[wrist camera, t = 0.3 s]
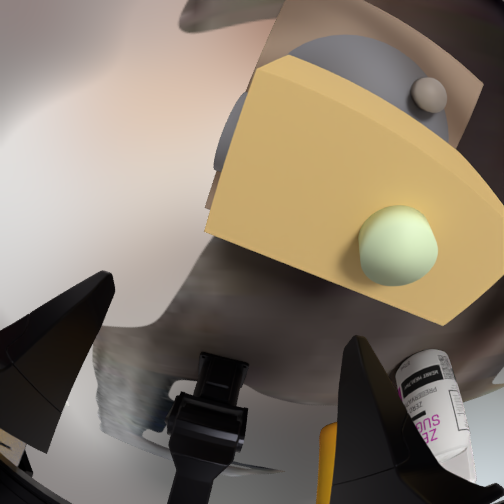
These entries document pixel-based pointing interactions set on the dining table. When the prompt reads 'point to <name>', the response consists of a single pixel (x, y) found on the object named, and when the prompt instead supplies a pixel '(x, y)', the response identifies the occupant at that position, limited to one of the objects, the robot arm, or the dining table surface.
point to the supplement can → (434, 402)
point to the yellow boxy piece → (355, 193)
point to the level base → (379, 29)
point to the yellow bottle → (326, 462)
